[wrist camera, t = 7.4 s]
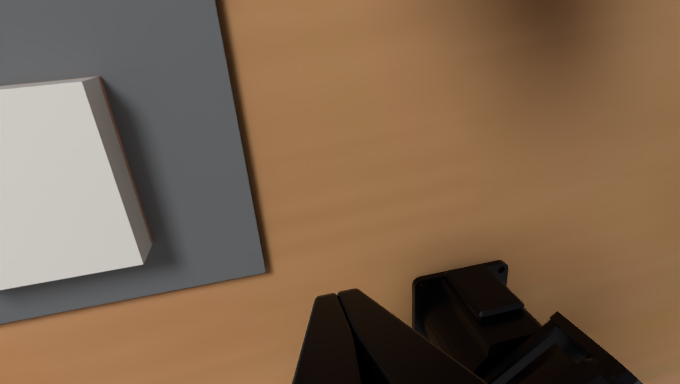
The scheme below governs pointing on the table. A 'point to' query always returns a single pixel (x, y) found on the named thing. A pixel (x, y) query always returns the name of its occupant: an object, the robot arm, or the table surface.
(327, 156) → the table surface
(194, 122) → the mat
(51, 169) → the tile
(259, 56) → the table surface
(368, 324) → the robot arm
